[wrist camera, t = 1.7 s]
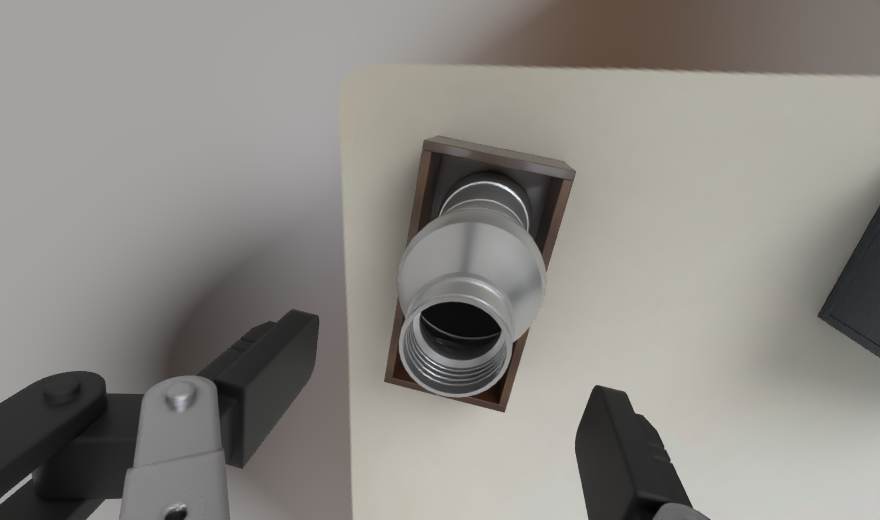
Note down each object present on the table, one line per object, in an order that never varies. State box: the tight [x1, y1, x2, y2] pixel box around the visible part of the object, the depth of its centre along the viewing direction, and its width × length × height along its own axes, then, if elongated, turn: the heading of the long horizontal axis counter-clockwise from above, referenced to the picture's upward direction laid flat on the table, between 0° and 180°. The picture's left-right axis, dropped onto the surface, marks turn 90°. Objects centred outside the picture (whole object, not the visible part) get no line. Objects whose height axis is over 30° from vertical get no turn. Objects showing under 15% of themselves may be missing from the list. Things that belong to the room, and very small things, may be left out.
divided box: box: [384, 136, 576, 412], centre depth 31 cm, size 18×9×5 cm, turn 170°
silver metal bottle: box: [398, 172, 547, 397], centre depth 23 cm, size 6×7×20 cm
